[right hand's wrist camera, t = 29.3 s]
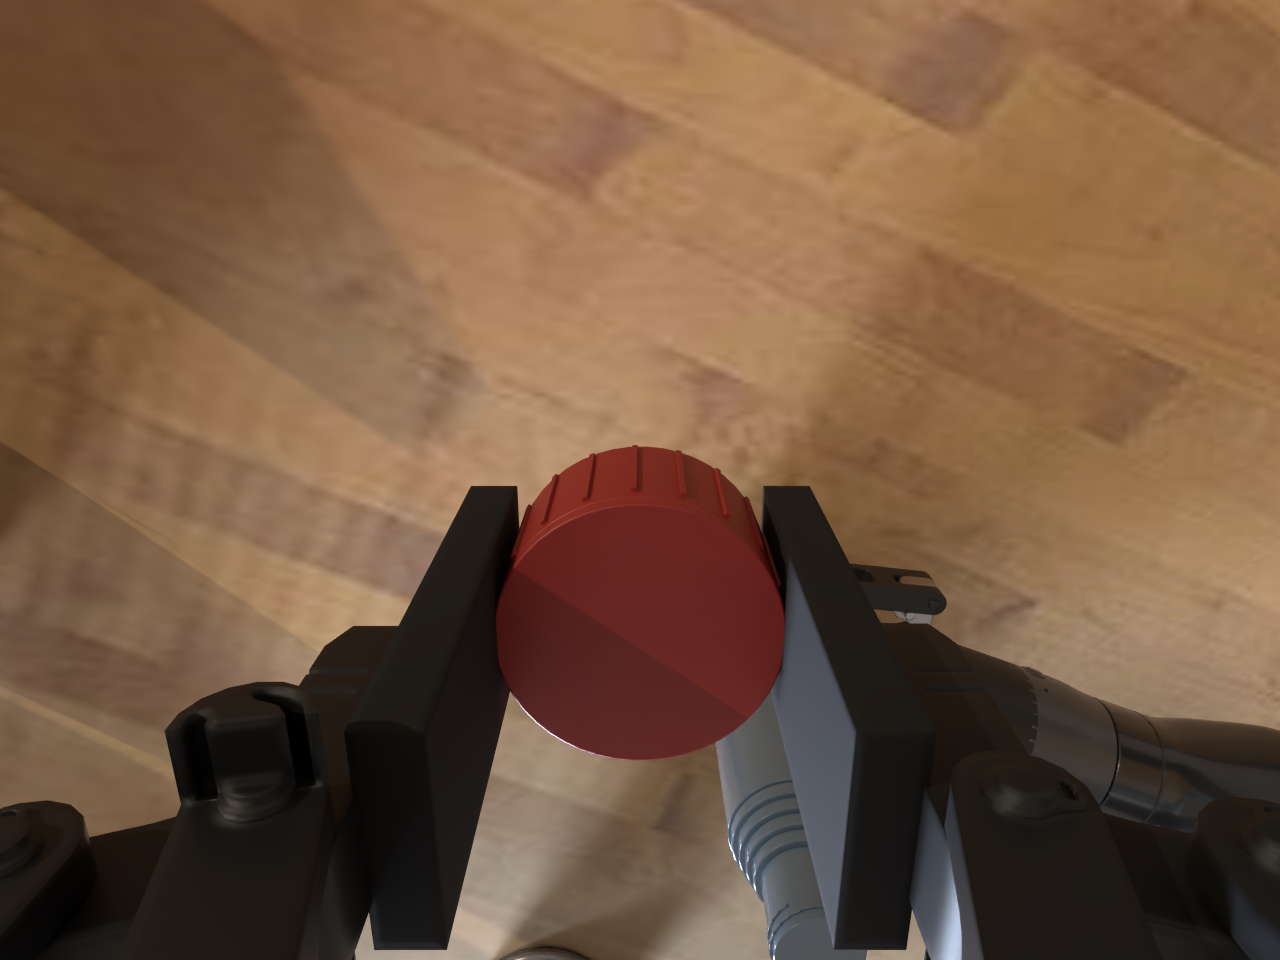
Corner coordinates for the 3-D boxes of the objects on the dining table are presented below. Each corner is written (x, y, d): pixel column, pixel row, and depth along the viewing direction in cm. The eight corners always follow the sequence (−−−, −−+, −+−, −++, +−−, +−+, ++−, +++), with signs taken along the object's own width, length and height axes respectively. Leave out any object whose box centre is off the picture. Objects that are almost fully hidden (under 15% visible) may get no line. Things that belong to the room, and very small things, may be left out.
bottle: (680, 606, 51) (716, 979, 28) (720, 539, 49) (793, 874, 26) (751, 639, 52) (845, 1028, 28) (793, 574, 50) (927, 929, 27)
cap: (820, 549, 14) (854, 624, 12) (655, 713, 16) (657, 812, 13) (625, 389, 14) (622, 438, 11) (464, 576, 15) (430, 656, 12)
